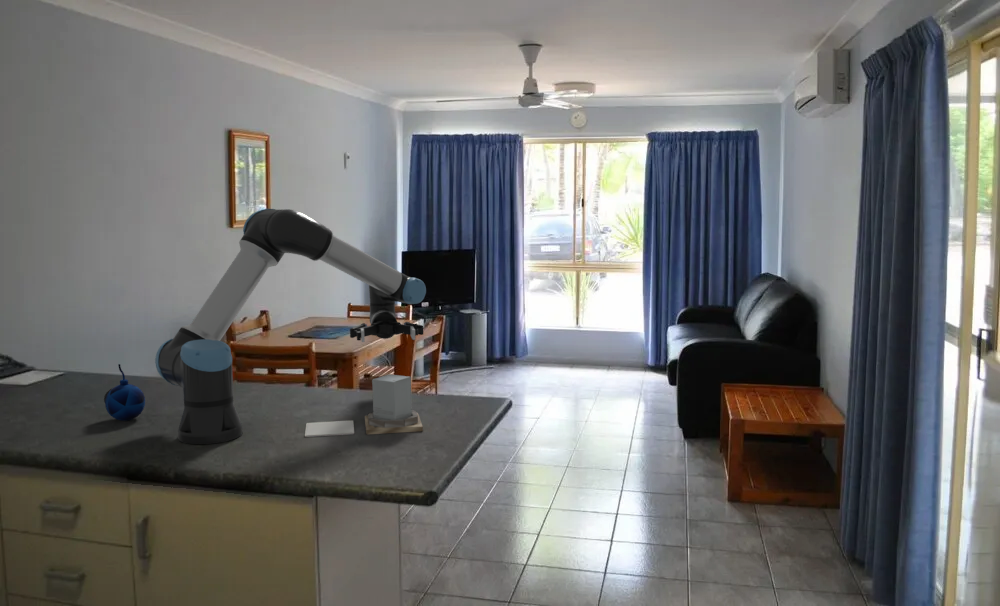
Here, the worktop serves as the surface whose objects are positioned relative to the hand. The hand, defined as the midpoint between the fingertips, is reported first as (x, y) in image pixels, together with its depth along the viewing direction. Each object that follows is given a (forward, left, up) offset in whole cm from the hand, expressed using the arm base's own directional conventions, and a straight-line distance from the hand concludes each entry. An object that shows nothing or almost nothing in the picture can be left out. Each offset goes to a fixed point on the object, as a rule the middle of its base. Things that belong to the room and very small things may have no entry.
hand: (388, 336), depth 230 cm
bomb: (-70, +9, -22) cm, 74 cm away
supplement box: (0, -13, -22) cm, 25 cm away
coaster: (-16, -13, -21) cm, 30 cm away
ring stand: (0, -13, -21) cm, 25 cm away
